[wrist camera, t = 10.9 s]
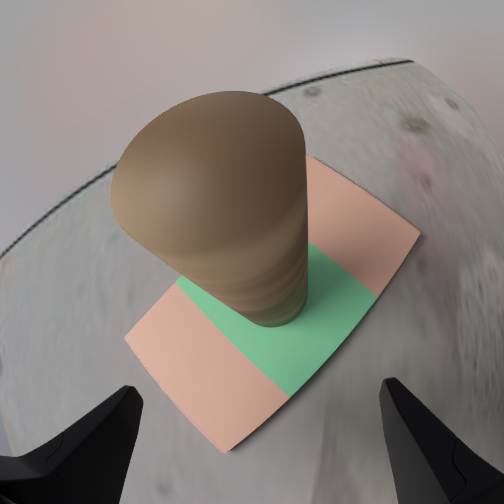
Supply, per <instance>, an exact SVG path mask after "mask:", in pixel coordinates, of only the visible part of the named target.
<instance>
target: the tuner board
mask: <svg viewBox="0 0 504 504" xmlns="http://www.w3.org/2000/svg"><path fill="white" fill-rule="evenodd" d="M306 170H307V197H308V295H307V301H306V304H305V306H304V308H303V310H302V311H301V313H300V314H299V315H298V316H297V317H296V318H295V319H294V320H293V321H291V322H290V323H288V324H286V325H283V326H280V327H273V328H269V327H262V326H259V325H256V324H254V323H253V322H251V321H249V320H248V319H246V318H245V317H243V316H242V315H240V314H239V313H237V312H236V311H234V310H232V309H231V308H229V307H228V306H226V305H225V304H223V303H222V302H220V301H219V300H217V299H216V298H214V297H213V296H212V295H210V294H209V293H207V292H206V291H204V290H203V289H201V288H200V287H198V286H197V285H196V284H194V283H193V282H191V281H190V280H188V279H187V278H186V277H184V276H183V275H182V276H181V277H180V278H179V279H178V280H177V281H176V282H175V283H174V284H173V285H172V286H171V287H170V288H169V289H168V291H167V292H166V293H165V294H164V295H163V296H162V297H161V298H160V299H159V300H158V301H157V302H156V303H155V304H154V306H153V307H152V308H151V309H150V310H149V311H148V312H147V313H146V314H145V315H144V316H143V317H142V319H141V320H140V321H139V322H138V323H137V324H136V325H135V326H134V327H133V328H132V330H131V331H130V332H129V333H128V334H127V335H126V336H125V337H124V338H125V340H126V341H127V343H128V344H129V346H130V347H131V349H132V350H133V351H134V353H135V354H136V356H137V357H138V358H139V360H140V361H141V362H142V364H143V365H144V366H145V368H146V369H147V370H148V372H149V373H150V374H151V376H152V377H153V378H154V379H155V381H156V382H157V383H158V384H159V386H160V387H161V388H162V389H163V390H164V392H165V393H166V394H167V395H168V396H169V398H170V399H171V400H172V401H173V402H174V403H175V405H176V406H177V407H178V408H179V409H180V410H181V411H182V412H183V414H184V415H185V416H186V417H187V418H188V419H189V420H190V421H191V422H192V423H193V424H194V425H195V426H196V427H197V428H198V429H199V430H200V432H201V433H202V434H203V435H204V436H205V437H206V438H207V439H208V440H210V441H211V442H212V443H213V444H214V445H215V446H216V447H217V448H218V449H219V450H220V451H221V452H222V453H223V454H225V453H226V452H228V451H229V450H230V449H232V448H233V447H234V446H235V445H237V444H238V443H239V442H240V441H242V440H243V439H244V438H245V437H247V436H248V435H249V434H250V433H251V432H253V431H254V430H255V429H256V428H257V427H258V426H260V425H261V424H262V423H263V422H264V421H265V420H266V419H268V418H269V417H270V416H271V415H272V414H273V413H274V412H275V411H276V410H277V409H278V408H280V407H281V406H282V405H283V404H284V403H285V402H286V401H287V400H288V399H289V398H290V397H291V396H292V395H293V394H294V393H295V392H296V391H297V390H298V389H299V388H300V387H301V386H302V385H303V384H304V383H305V382H306V381H307V380H308V379H309V378H310V377H311V376H312V375H313V374H314V373H315V372H316V371H317V370H318V369H319V368H320V366H321V365H322V364H323V363H324V362H325V361H326V360H327V359H328V358H329V357H330V355H331V354H332V353H333V352H334V351H335V350H336V349H337V348H338V346H339V345H340V344H341V343H342V342H343V341H344V339H345V338H346V337H347V336H348V335H349V333H350V332H351V331H352V330H353V329H354V327H355V326H356V325H357V324H358V322H359V321H360V320H361V319H362V317H363V316H364V315H365V314H366V312H367V311H368V310H369V308H370V307H371V306H372V304H373V303H374V302H375V300H376V299H377V298H378V296H379V295H380V294H381V292H382V291H383V290H384V288H385V287H386V285H387V284H388V283H389V281H390V280H391V278H392V277H393V275H394V274H395V272H396V271H397V270H398V268H399V267H400V265H401V264H402V262H403V260H404V259H405V257H406V256H407V254H408V253H409V251H410V250H411V248H412V246H413V245H414V243H415V242H416V240H417V238H418V237H419V235H420V233H421V232H420V231H418V230H417V229H416V228H415V227H413V226H412V225H411V224H409V223H408V222H407V221H406V220H404V219H403V218H402V217H400V216H399V215H398V214H396V213H395V212H394V211H392V210H391V209H390V208H388V207H387V206H385V205H384V204H383V203H381V202H380V201H379V200H377V199H376V198H374V197H373V196H371V195H370V194H369V193H367V192H366V191H364V190H363V189H361V188H360V187H358V186H357V185H355V184H354V183H352V182H351V181H349V180H348V179H346V178H345V177H343V176H341V175H340V174H338V173H337V172H335V171H333V170H332V169H330V168H329V167H327V166H325V165H324V164H322V163H320V162H319V161H317V160H315V159H314V158H312V157H310V156H309V155H307V154H306Z"/></svg>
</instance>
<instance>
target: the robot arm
mask: <svg viewBox="0 0 504 504" xmlns="http://www.w3.org/2000/svg"><path fill="white" fill-rule="evenodd" d="M379 400H380V406H381V414H382V421H383V430H384V436H385V441H386V445H387V449H388V454H389V458H390V463H391V467H392V472H393V477H394V482H395V487H396V492H397V498H398V503H399V504H504V474H503V473H501V472H500V471H499V470H497V469H496V468H494V467H493V466H492V465H490V464H489V463H487V462H486V461H485V460H483V459H482V458H481V457H479V456H478V455H477V454H475V453H474V452H473V451H472V450H471V449H470V448H468V447H467V446H466V445H465V444H464V443H463V442H462V441H461V440H460V439H459V438H457V436H456V435H455V434H454V433H453V432H452V431H451V430H450V429H449V428H448V427H447V426H445V425H444V424H443V423H442V422H441V421H440V420H439V419H438V418H437V417H436V416H435V415H434V414H433V413H432V412H431V411H430V410H429V409H428V408H427V407H426V406H425V405H424V404H423V403H422V402H421V401H420V400H419V399H418V398H416V397H415V396H414V395H413V394H412V393H411V392H410V391H409V390H408V389H407V388H406V387H405V386H404V385H403V384H402V383H401V382H400V381H399V380H398V379H397V378H395V377H391V378H387V379H384V380H383V382H382V386H381V390H380V393H379ZM142 409H143V399H142V397H141V396H140V394H139V393H138V391H137V390H136V388H135V387H133V386H128V385H125V386H123V387H122V388H120V389H119V390H118V391H116V392H115V393H114V394H113V395H111V396H110V397H109V398H107V399H106V400H105V401H103V402H102V403H101V404H99V405H98V406H97V407H95V408H94V409H93V410H91V411H90V412H89V413H87V414H86V415H85V416H83V417H82V418H81V419H79V420H78V421H77V422H75V423H74V424H72V425H71V426H70V427H68V428H67V429H66V430H64V431H63V432H61V433H60V434H59V435H57V436H56V437H54V438H53V439H51V440H50V441H48V442H47V443H45V444H43V445H42V446H40V447H38V448H36V449H34V450H33V451H31V452H29V453H27V454H25V455H23V456H19V457H9V456H0V504H119V502H120V498H121V494H122V490H123V486H124V482H125V478H126V474H127V471H128V467H129V463H130V460H131V456H132V453H133V449H134V446H135V442H136V439H137V435H138V431H139V425H140V420H141V414H142Z"/></svg>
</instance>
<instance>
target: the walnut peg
mask: <svg viewBox="0 0 504 504" xmlns="http://www.w3.org/2000/svg"><path fill="white" fill-rule="evenodd" d="M110 195H111V206H112V210H113V213H114V216H115V218H116V220H117V222H118V224H119V225H120V227H121V228H122V229H123V230H124V231H125V232H126V233H127V234H128V235H129V236H130V237H131V238H133V239H134V240H135V241H136V242H138V243H139V244H140V245H142V246H143V247H144V248H146V249H147V250H148V251H150V252H151V253H152V254H154V255H155V256H156V257H158V258H159V259H161V260H162V261H163V262H165V263H166V264H167V265H169V266H170V267H171V268H173V269H174V270H176V271H177V272H178V273H180V274H181V275H183V276H184V277H186V278H187V279H188V280H190V281H191V282H193V283H194V284H196V285H197V286H198V287H200V288H201V289H203V290H204V291H206V292H207V293H209V294H210V295H212V296H213V297H214V298H216V299H217V300H219V301H220V302H222V303H223V304H225V305H226V306H228V307H229V308H231V309H232V310H234V311H236V312H237V313H239V314H240V315H242V316H243V317H245V318H246V319H248V320H249V321H251V322H253V323H254V324H256V325H259V326H262V327H269V328H273V327H280V326H283V325H286V324H288V323H290V322H291V321H293V320H294V319H295V318H296V317H297V316H298V315H299V314H300V313H301V311H302V310H303V308H304V306H305V304H306V301H307V295H308V197H307V170H306V150H305V140H304V134H303V131H302V128H301V126H300V124H299V122H298V120H297V119H296V117H295V116H294V115H293V114H292V113H291V112H290V110H289V109H287V108H286V107H285V106H284V105H282V104H281V103H279V102H277V101H276V100H274V99H271V98H269V97H267V96H264V95H260V94H257V93H251V92H244V91H224V92H217V93H210V94H206V95H202V96H198V97H195V98H192V99H190V100H187V101H184V102H182V103H180V104H178V105H176V106H174V107H172V108H170V109H169V110H167V111H165V112H164V113H162V114H161V115H159V116H158V117H156V118H155V119H154V120H153V121H151V122H150V123H149V124H148V125H146V126H145V127H144V128H143V129H142V130H141V131H140V132H139V133H138V134H137V135H136V137H135V138H134V139H133V140H132V141H131V143H130V144H129V145H128V147H127V148H126V150H125V151H124V153H123V155H122V156H121V158H120V160H119V162H118V164H117V166H116V169H115V172H114V175H113V179H112V184H111V194H110Z"/></svg>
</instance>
